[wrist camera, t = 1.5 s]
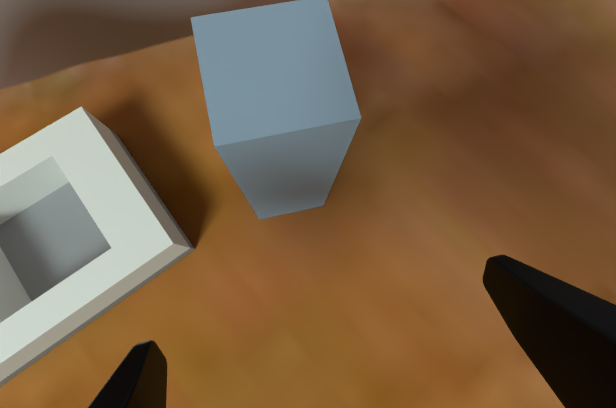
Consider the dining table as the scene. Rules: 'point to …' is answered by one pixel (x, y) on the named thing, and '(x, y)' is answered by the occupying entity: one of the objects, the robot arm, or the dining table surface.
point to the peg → (278, 101)
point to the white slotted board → (74, 235)
